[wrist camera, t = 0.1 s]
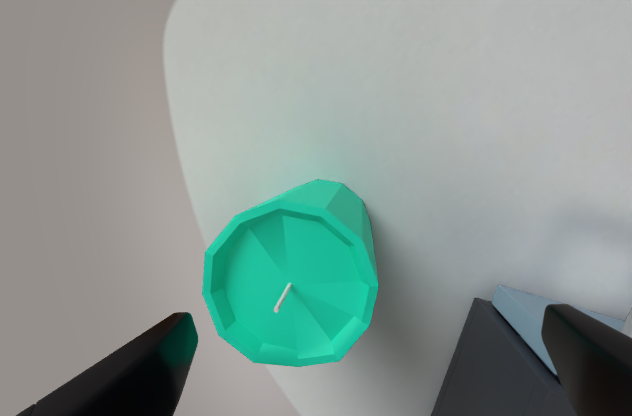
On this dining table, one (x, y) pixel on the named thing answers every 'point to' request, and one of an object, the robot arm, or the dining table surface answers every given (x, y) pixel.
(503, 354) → the dark grey box
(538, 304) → the drawer
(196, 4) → the dining table surface
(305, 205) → the candle
